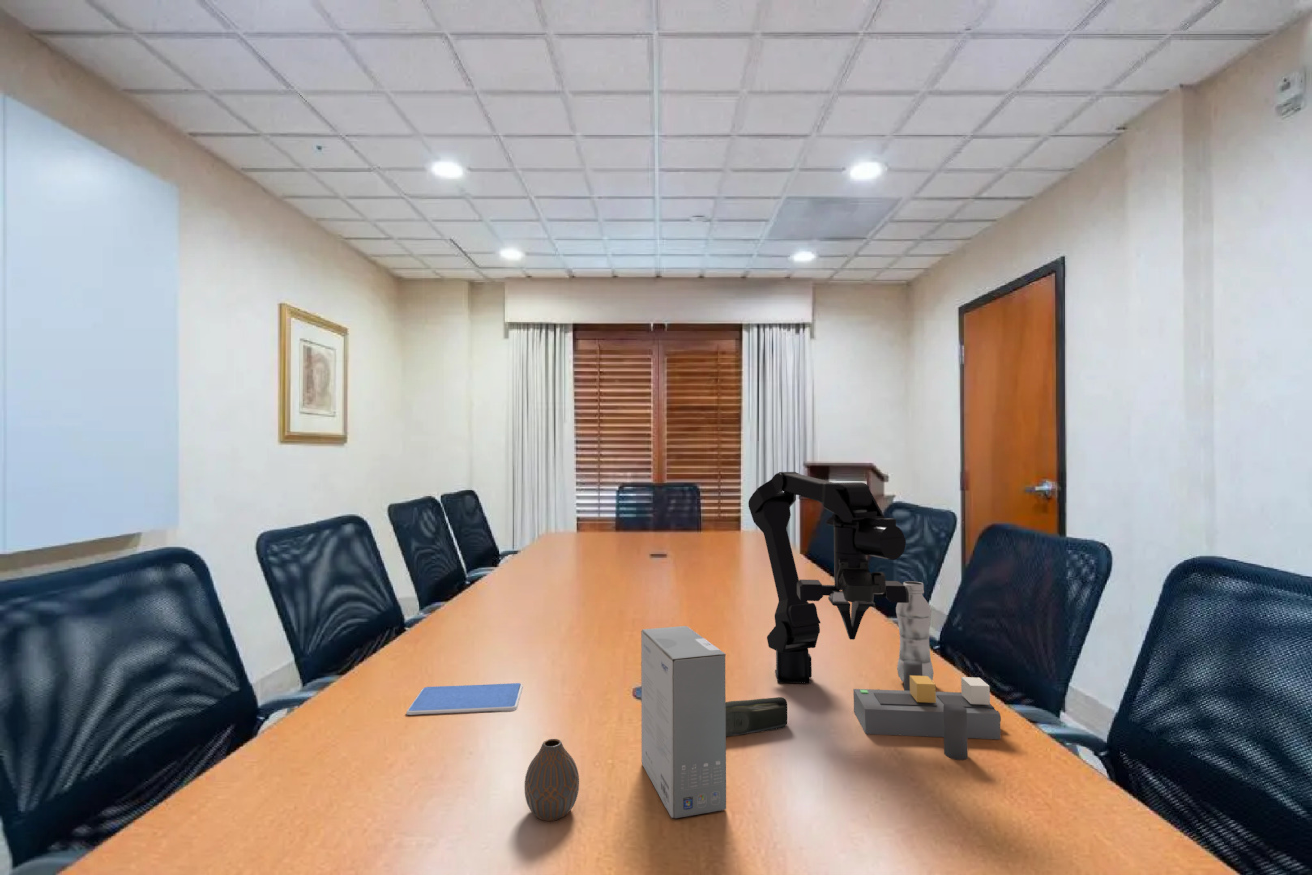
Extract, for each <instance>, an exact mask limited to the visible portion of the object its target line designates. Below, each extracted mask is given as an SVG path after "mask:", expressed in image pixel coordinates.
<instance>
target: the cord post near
mask: <svg viewBox="0 0 1312 875" xmlns="http://www.w3.org/2000/svg"><path fill="white" fill-rule="evenodd" d="M943 712H944V737H943V750H944V751H943V754H944V755H945V756H946V757H948V758H949V759H953V760H957V761H964V760H967V759H968V755H969V754H968V753H969V752H968V738H967V709H966V708H965V707H963V706H960V705H956V704H946V705H944V706H943Z"/></svg>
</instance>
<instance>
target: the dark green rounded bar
mask: <svg viewBox="0 0 1312 875" xmlns="http://www.w3.org/2000/svg"><path fill="white" fill-rule="evenodd" d="M787 726H788V702H787V698H784V696H783V697H782V696H780V697H779V696H778V697H767V698H756V699H755V698H754V699H746V700H745V699H743V700H729V701H726V737H731V736H741V735H746V734H751V733H753V734H754V733H760V732H761V731H763V732H768V731H769V732H770V731H776V730H781V729H784V728H785V727H787ZM761 733H762V732H761Z"/></svg>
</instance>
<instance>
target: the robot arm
mask: <svg viewBox="0 0 1312 875" xmlns="http://www.w3.org/2000/svg"><path fill="white" fill-rule="evenodd" d="M797 496H800V497H803V498H806V499H809V500H812V501H815V502H818V503H820V504H821V505H822V507H823V509H824V510H827V511H829V512H830V513H832V515H831V516H830V517H828V518H827V520H825V524H826V525H828V526H833V554H834V555H833V557H834V558H833V561H834V562H833V564H834V566H833V568H834V569H833V570H834V572H833V574H834V575H833V576H834V580H833V581H834V584H822V582H821V580H819V579H800V578H799V576H798V572H797V567H796V566H797V565H796V562H795V559H794V554H793V551H792V547H791V541H790V538H789V533H788V525H789V522H790V519H791V516H792V514H791V507H792V506H793V504H794V503H795V502H796V500H797ZM748 509H749V511H750V515H751V517H752V520H753V523H754V524H755V525H756V526H757V527H758V529H759V530H760V531H761V532H762V533H763V535H764V541H765V545H766V549H767V554H768V558H769V561H770V562H769V563H770V567H771V571H772V576H773V581H774V584H775V589H776V590H775V591H776V593H777V594H776V595H777V598H778V599H777V600H778V603H777V606H776V609H775V612H774V621H775V622H774V623H775V626H774V627H773V628H772V629H771V631H770V632H769V633H768V634H767V635H766V640H767V645H768V648H770V649H772V650H774V651H775V669H774V673H775V677H776V680H777V681H776V682H777V683H780V684H781V683H784V684H811V678H812V672H813V670H812V656H811V654H810V653H809V649H815V648H816V646H817V644H818V639H819V635H820V633H821V627H820V624H821V620H820V618H819V616H818V609H817V605H816V603H814V602H819V601H820V600H821V599H823V597H824V596H828V598H827V599H828V601H829V602H830V604H831V605H832V606H834V607H836V609H837V610H838V612H839V614H840V616H841V619H842V621H843V624H844V628H845V630H846V633H847V637H848V639H849V640H852V641H854V640H856V637H857V635H858V634H857V633H858V631H859V629H860V628H859V627H860V625H861V622H862V619H863V617H864V615H865V613H866V612H867V611H868V609H869V608H871V607H872V608H873V607H876V603H875V602H874V599H875V598H874V597H883V598H884V597H885V598H886V599H887V600H888V601H889V602H890V603H891V604H892V603H894V604H895V603H896V604H897V603H908V602H909V592H908V589H907V588H906V587H905V586H904V585H903V583H901V582H899V581H898V580H886V574H885V573H884V571H872V572H871V571H870V569H869V560H868V556H869V557H874V558H881V559H885V560H891V561H894V560H897V559H899V558H900V557H901V556H902V555H903V554H904V552H905V549H906V543H907V542H906V541H907V538H906V537H905V534H904V533H903V531H902V529H901V528H900V527H898V526H897V520H896V518H892V517H891V518H887V517H885V515H884V513H883V511H882V510H881V508H880V506H879V504H878V502H877V501H876V499H875V497H874V495H873V494H872V492H871V490H870V486H869V485H868V484H867V483H866V482H860V481H859V482H855V481H854V482H833V481H829V480H824V479H820V478H816V477H812V476H809V475H805V474H801V473H799V472H796V471H779V472H777V473H775V474H773V476H772V478H771V479H770V480H768V481H766V482H765V483H764V484H762V485H760V486H758V487H757V489H756V490H755V491H754V492H753V493H752V495H751V496H750V497H749V499H748Z"/></svg>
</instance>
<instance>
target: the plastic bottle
mask: <svg viewBox="0 0 1312 875" xmlns="http://www.w3.org/2000/svg"><path fill="white" fill-rule="evenodd" d="M902 584H903V585H904V586H905V587H906V588H907V589H908V592H909V602H908V603H896V607H895V613H896V618H897V624H898V634H899V652H898V654H899V655H898V659H897V660H898V661H897V669H896V670H897V674H898V677H899V679H900V680H901V682H902V683H904V661H906V660H914V661H918V662H921V663H922V676H928V677H929V678H930V679H931V680H932V681H933V679H934V668H933V663H932V658H931V657H932V656H931V650H930V649H931V648H930V627H931V619H932V609H931V606H930V604H929V602H928V600H926V598H925V597H924V595H923V594H924V593H925V590H924V583H923V582H920V581H913V580H911V581H910V580H908V581H904V582H903V583H902Z"/></svg>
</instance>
